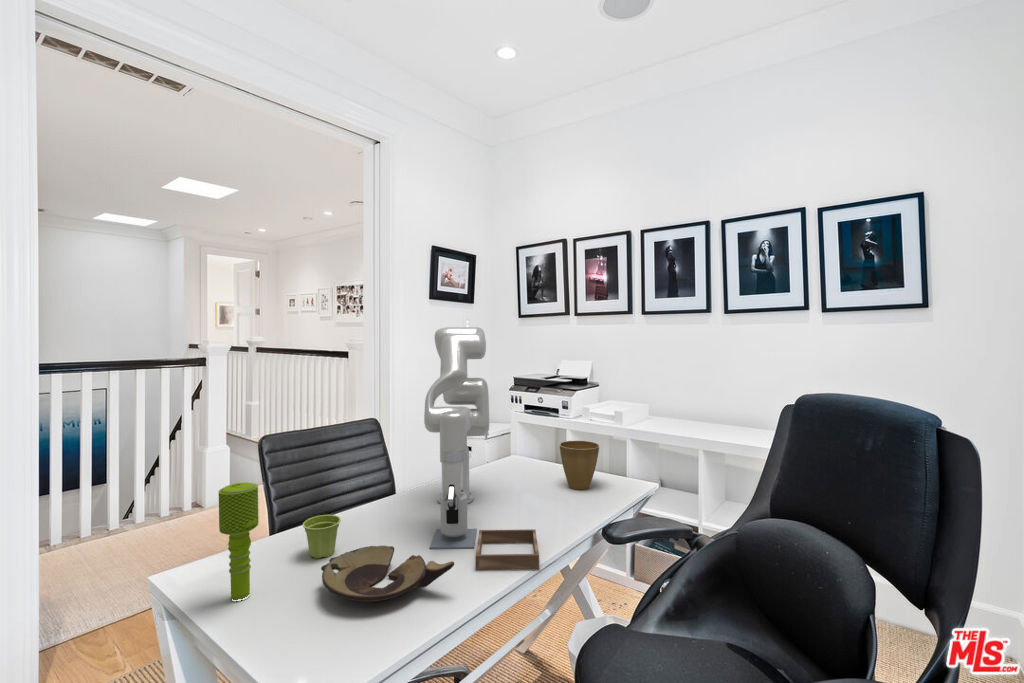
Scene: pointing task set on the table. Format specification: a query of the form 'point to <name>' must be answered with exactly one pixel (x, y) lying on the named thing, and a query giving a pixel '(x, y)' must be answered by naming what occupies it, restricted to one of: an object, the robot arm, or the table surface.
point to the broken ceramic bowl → (377, 574)
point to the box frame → (507, 559)
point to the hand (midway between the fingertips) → (454, 517)
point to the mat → (454, 540)
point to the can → (461, 527)
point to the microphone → (239, 531)
